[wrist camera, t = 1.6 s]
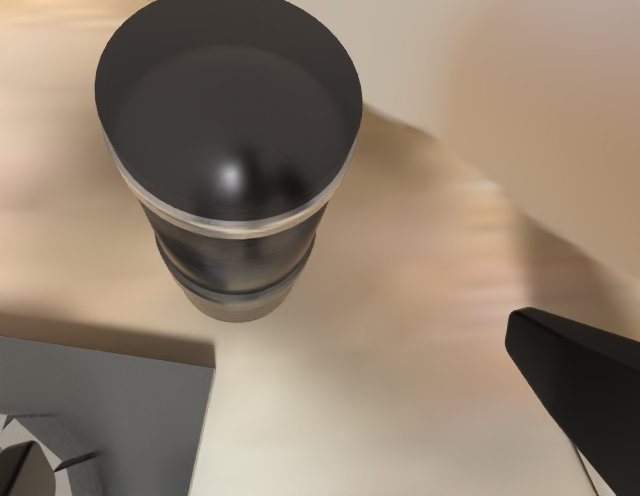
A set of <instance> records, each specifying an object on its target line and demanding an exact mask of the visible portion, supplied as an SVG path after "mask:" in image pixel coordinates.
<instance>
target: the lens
mask: <svg viewBox="0 0 640 496" xmlns="http://www.w3.org/2000/svg"><path fill="white" fill-rule="evenodd" d="M95 101H96V106H97V111H98V115H99V118H100V120H101V123H102V129H103V133H104V138H105V141H106V144H107V146H108V149H109V151H110V154H111V156H112V158H113V160H114V162H115V164H116V166H117V168H118V170H119V171H120V173H121V175H122V177H123V178H124V180H125V182H126V184H127V185H128V187H129V188H130V189H131V190H132V192H133V193H134V194H135V195H136V197H137V198H138V199H139V202H140V204H141V206H142V208H143V210H144V212H145V214H146V216H147V218H148V220H149V222H150V224H151V226H152V228H153V230H154V232H155V238H156V243H157V246H158V249H159V251H160V254H161V256H162V258H163V260H164V262H165V264H166V266H167V268H168V269H169V271H170V273H171V275H172V276H173V278H174V280H175V281H176V282H177V284H178V285H179V286H180V287H181V288H182V289H183V291H184V292H185V294H186V296H187V298H188V299H189V300H190V301H191V303H192V304H193V305H194V306H195V307H196V308H197V309H199V310H200V311H201V312H203V313H204V314H206V315H208V316H210V317H212V318H214V319H217V320H221V321H225V322H233V323H239V322H248V321H252V320H256V319H259V318H261V317H263V316H265V315H267V314H269V313H270V312H272V311H273V310H274V309H276V308H277V307H278V306H279V305H280V304H281V303H282V302H283V301H284V299H285V298H286V297H287V295H288V293H289V291H290V290H291V287H292V286H293V285H294V283H295V282H296V281H297V279H298V278H299V276H300V274H301V273H302V271H303V269H304V267H305V264H306V262H307V260H308V258H309V256H310V253H311V251H312V248H313V245H314V241H315V236H316V229H317V227H318V225H319V222H320V220H321V218H322V215H323V213H324V211H325V208H326V206H327V204H328V201H329V199H330V198H331V196H332V195H333V194H334V192H335V191H336V190H337V188H338V186H339V184H340V182H341V181H342V179H343V177H344V174H345V172H346V170H347V168H348V165H349V163H350V161H351V158H352V155H353V153H354V150H355V146H356V141H357V135H358V130H359V127H360V122H361V117H362V92H361V85H360V82H359V78H358V74H357V72H356V69H355V67H354V64H353V62H352V60H351V58H350V57H349V55H348V53H347V51H346V50H345V49H344V47H343V46H342V44H341V43H340V42H339V41H338V39H337V38H336V37H335V36H334V35H333V34H332V33H331V32H330V31H329V29H327V27H325V26H324V25H323V24H322V23H321V22H319V21H318V20H317V19H316V18H314V17H313V16H311V15H310V14H308V13H307V12H305V11H304V10H302V9H300V8H299V7H297V6H295V5H293V4H291V3H289V2H287V1H284V0H157V1H155V2H152V3H150V4H149V5H147V6H145V7H144V8H142V9H140V10H139V11H137V12H136V13H135V14H133V15H132V16H131V17H130V18H128V19H127V20H126V21H125V22H124V23H123V24H122V25H121V26H120V27H119V28H118V29H117V30H116V32H115V33H114V34H113V36H112V37H111V39H110V40H109V41H108V43H107V45H106V47H105V49H104V51H103V53H102V55H101V57H100V61H99V64H98V67H97V71H96V79H95Z"/></svg>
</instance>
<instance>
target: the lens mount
mask: <svg viewBox="0 0 640 496" xmlns="http://www.w3.org/2000/svg"><path fill="white" fill-rule="evenodd" d="M215 374H216V369H215V368H210V367H203V366H196V365H190V364H183V363H177V362H170V361H164V360H157V359H150V358H144V357H137V356H131V355H124V354H117V353H111V352H104V351H98V350H91V349H85V348H78V347H71V346H65V345H58V344H52V343H45V342H39V341H32V340H25V339H19V338H12V337H6V336H0V452H1V451H2V450H4V449H5V448H6V447H8V446H11V445H15V444H18V443H22V442H26V441H29V440H34V441H36V442H38V443H39V445H40V446H41V448H42V450H43V452H44V454H45V456H46V458H47V460H48V462H49V464H50V465H51V467H52V469H53V471H54V474H55V479H56V492H55V496H190V492H191V488H192V483H193V478H194V473H195V469H196V464H197V459H198V454H199V450H200V445H201V440H202V435H203V431H204V426H205V421H206V416H207V412H208V407H209V402H210V397H211V393H212V388H213V383H214V378H215Z"/></svg>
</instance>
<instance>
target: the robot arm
mask: <svg viewBox="0 0 640 496" xmlns="http://www.w3.org/2000/svg"><path fill="white" fill-rule="evenodd" d="M505 347H506V350H507V352H508V354H509V356H510V357H511V358H512V360H513V361H514V363H515V364H516V366H517V367H518V369H519V370H520V372H521V373H522V375H523V376H524V378H525V379H526V381H527V382H528V384H529V385H530V387H531V388H532V389H533V391H534V392H535V394H536V395H537V397H538V398H539V400H540V401H541V403H542V404H543V406H544V407H545V408H546V410H547V411H548V413H549V414H550V415H551V417H552V418H553V419H554V420H555V422H556V423H557V424H558V425H559V427H560V428H561V429H562V430H563V432H564V433H565V434H566V435H567V436H568V438H569V439H570V440H571V441H572V443H573V444H574V445H575V446H576V447H577V449H578V450H579V451H580V452H581V453H582V455H583V456H584V457H585V458H586V460H587V461H588V462H589V463H590V464H591V466H592V467H593V468H594V469H595V470H596V472H597V473H598V474H599V475H600V477H601V478H602V479H603V480H604V481H605V483H606V484H607V485H608V486H609V488H610V489H611V490H612V491H613V492H614V494H615V495H616V496H640V342H638V341H635V340H632V339H629V338H626V337H623V336H619V335H616V334H613V333H610V332H607V331H604V330H601V329H598V328H595V327H592V326H588V325H585V324H582V323H579V322H576V321H573V320H570V319H567V318H564V317H561V316H558V315H554V314H551V313H548V312H545V311H542V310H539V309H536V308H533V307H525V308H521V309H518V310H514V311H512V312H511V314H510V315H509V319H508V325H507V331H506V337H505ZM55 492H56V479H55V474H54V471H53V469H52V467H51V465H50V464H49V462H48V460H47V458H46V456H45V454H44V452H43V450H42V448H41V446H40V445H39V443H38V442H36V441H34V440H29V441H26V442H22V443H18V444H15V445H11V446H8V447H6V448H5V449H4V450H2V451H1V452H0V496H55Z"/></svg>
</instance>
